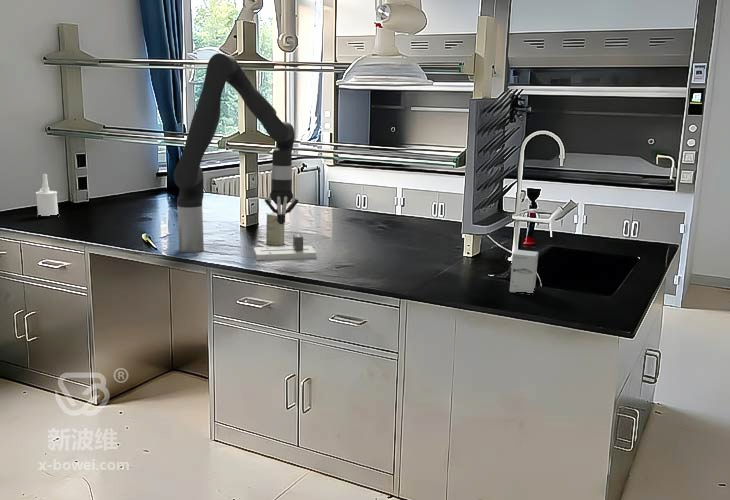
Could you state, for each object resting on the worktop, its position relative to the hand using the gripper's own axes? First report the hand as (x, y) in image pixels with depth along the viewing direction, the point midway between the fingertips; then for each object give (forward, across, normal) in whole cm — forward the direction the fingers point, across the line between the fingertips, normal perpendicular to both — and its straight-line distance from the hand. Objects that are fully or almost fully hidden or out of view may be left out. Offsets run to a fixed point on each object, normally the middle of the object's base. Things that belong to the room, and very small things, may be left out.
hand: (281, 223), depth 260 cm
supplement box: (+11, +70, -60) cm, 92 cm away
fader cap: (+10, +7, 0) cm, 12 cm away
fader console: (+12, +2, 0) cm, 12 cm away
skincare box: (+12, 0, +20) cm, 24 cm away
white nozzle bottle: (+15, -98, +95) cm, 138 cm away
